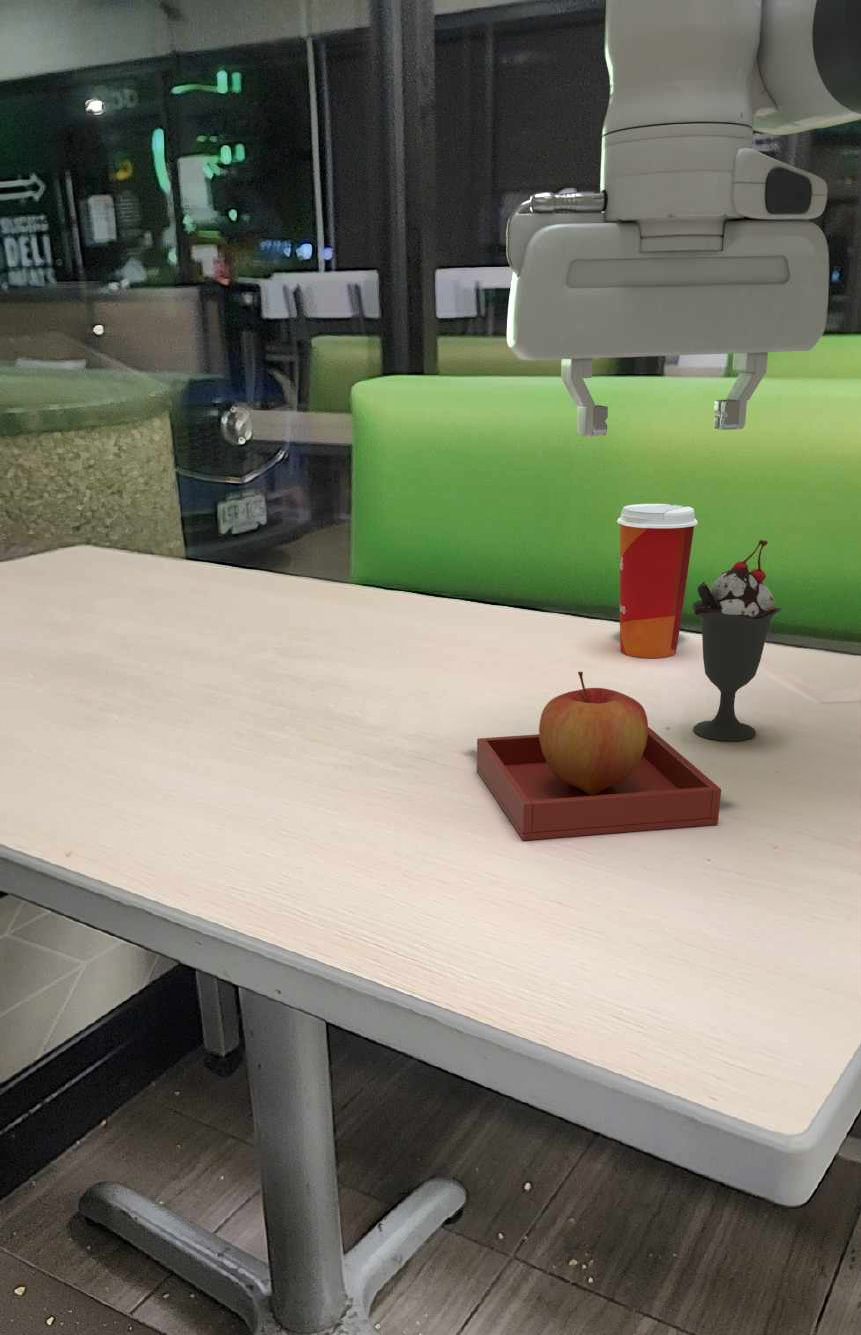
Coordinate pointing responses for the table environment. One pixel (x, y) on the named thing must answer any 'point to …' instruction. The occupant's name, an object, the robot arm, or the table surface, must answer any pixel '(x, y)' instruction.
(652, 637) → the paper cup
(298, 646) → the table surface
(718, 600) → the sundae
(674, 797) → the red tray
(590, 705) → the apple
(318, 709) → the table surface
